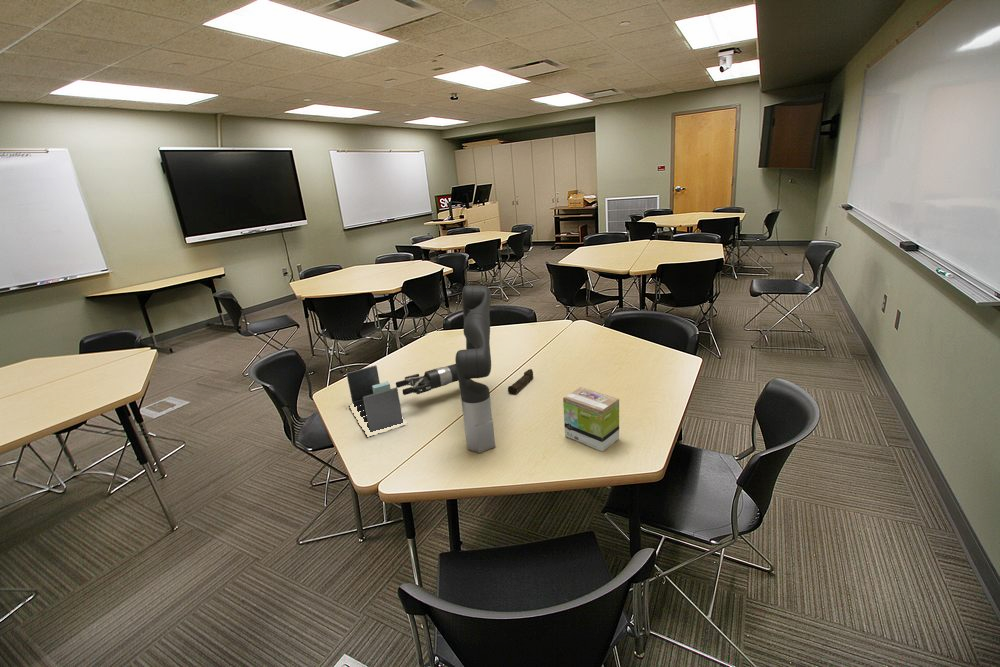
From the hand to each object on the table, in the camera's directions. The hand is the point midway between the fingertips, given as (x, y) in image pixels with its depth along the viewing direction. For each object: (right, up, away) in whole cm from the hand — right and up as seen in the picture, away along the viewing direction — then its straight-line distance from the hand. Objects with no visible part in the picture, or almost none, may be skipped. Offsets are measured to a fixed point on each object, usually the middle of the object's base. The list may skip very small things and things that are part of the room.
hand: (399, 388), depth 177 cm
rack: (-9, -11, +1) cm, 14 cm away
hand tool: (+48, -1, +16) cm, 51 cm away
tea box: (+69, -13, -28) cm, 75 cm away
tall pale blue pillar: (-5, -9, 0) cm, 11 cm away
